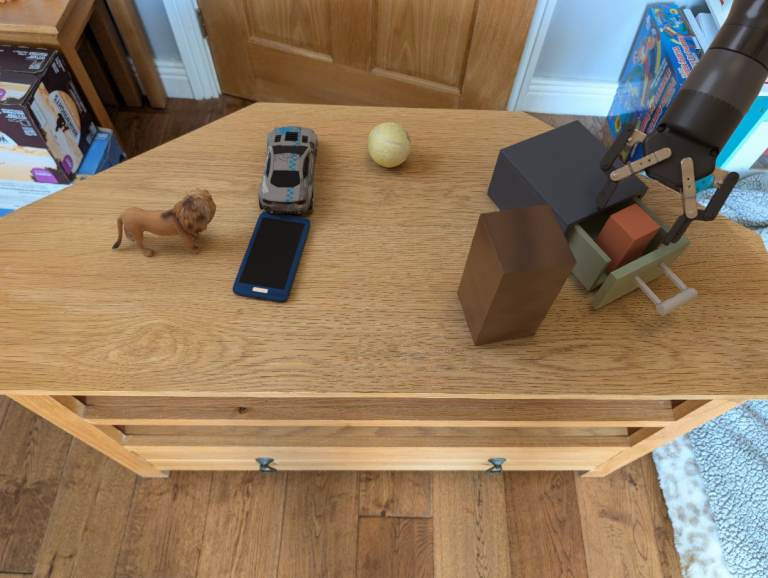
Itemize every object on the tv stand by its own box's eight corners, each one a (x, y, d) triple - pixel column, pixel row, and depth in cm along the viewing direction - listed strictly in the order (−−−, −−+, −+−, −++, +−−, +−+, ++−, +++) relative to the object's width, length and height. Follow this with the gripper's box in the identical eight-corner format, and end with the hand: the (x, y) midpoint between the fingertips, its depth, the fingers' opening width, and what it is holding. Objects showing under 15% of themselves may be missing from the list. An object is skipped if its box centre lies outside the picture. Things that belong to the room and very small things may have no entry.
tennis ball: (409, 178, 84) (413, 144, 79) (365, 176, 84) (366, 142, 79) (408, 148, 88) (412, 114, 82) (366, 146, 88) (367, 112, 82)
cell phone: (231, 294, 72) (230, 291, 71) (261, 213, 79) (261, 209, 79) (287, 304, 71) (286, 300, 71) (312, 221, 79) (311, 217, 78)
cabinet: (622, 230, 81) (649, 187, 73) (547, 265, 77) (568, 224, 69) (558, 164, 87) (577, 119, 80) (486, 194, 83) (499, 149, 76)
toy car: (318, 139, 88) (317, 113, 84) (313, 221, 79) (311, 197, 74) (271, 138, 88) (267, 112, 83) (259, 220, 78) (254, 195, 74)
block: (633, 264, 75) (661, 226, 68) (609, 277, 74) (635, 240, 67) (611, 241, 77) (636, 202, 70) (587, 253, 76) (610, 215, 69)
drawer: (697, 306, 73) (727, 275, 67) (626, 345, 69) (651, 317, 64) (599, 205, 82) (619, 171, 76) (532, 236, 78) (546, 202, 72)
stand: (513, 283, 75) (549, 204, 61) (534, 335, 71) (577, 262, 57) (456, 292, 74) (480, 213, 60) (474, 345, 70) (503, 273, 56)
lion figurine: (223, 220, 78) (210, 175, 71) (226, 250, 76) (212, 206, 68) (113, 236, 76) (87, 191, 68) (112, 267, 73) (85, 224, 66)
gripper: (654, 67, 62) (576, 198, 66) (784, 122, 58) (691, 257, 62) (650, 84, 69) (579, 201, 73) (766, 134, 65) (683, 255, 69)
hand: (631, 227), depth 68 cm, fingers open, 8 cm apart
